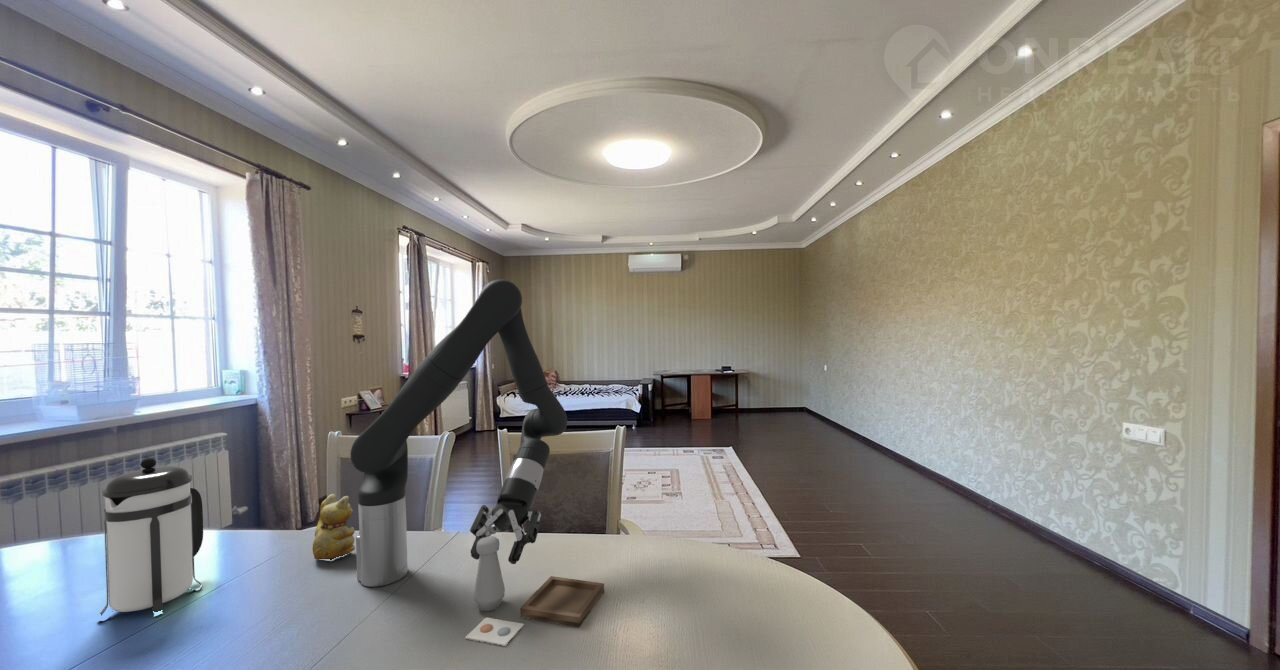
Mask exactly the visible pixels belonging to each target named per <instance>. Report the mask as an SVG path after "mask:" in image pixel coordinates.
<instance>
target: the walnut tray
mask: <svg viewBox="0 0 1280 670" xmlns="http://www.w3.org/2000/svg"><path fill="white" fill-rule="evenodd" d="M604 594H605V583H604V582H597V581H591V580H584V579H583V580H581V579H576V578H575V579H574V578H567V577H562V576H561V577H559V576H554V575H550V576H549V578H547V580H546V581H545V582H544V583H542V585H541V586H539V588H538V589H537V590H536V591H535V592H534V593H533V594H532V595H531V596H530V597H529V598H528V599H527V600H526V601H525V602H524V603H523V604H522V606H520V607H519V615H520V617H524V618H523V619H526V618H529V619H528V620H532V619H534V620H533V621H539V622H544V623H545V622H546V623H549V622H550V623H551V624H555V623H557V625H561V624H562V626H567V627H568V626H569V627H574V628H580V627H581V626H582V624H583V623H584V622H585V620H586V619H587V617H588V616H589V615H590V613H591V612H592V611H593V609H594V608H595V606H596V605H597V603H598V602H599V600H600V599H601V598H602V596H604Z"/></svg>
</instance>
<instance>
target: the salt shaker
mask: <svg viewBox="0 0 1280 670" xmlns="http://www.w3.org/2000/svg"><path fill="white" fill-rule="evenodd" d="M476 549H477V553H478V554H480V557H479V559H478V565H477V573H476V580H475V587H474V593H473V600H474V602H475V603H476V605H477V607H478V608H479V611H481V612H491V611H494V610H496V609H497V610H498V609H499V608H500V606H501V603H502V600H503V599H504V596H505V594H506V593H505V591H506V590H505V583H504V579H503V574H502V569H501V566H500V561H499V556H498V551H499V550H500V539H499V538H497V537H496V536H493V535H491V536H489V537H484V538H482V539H480V540H479V541H478V542H477V547H476Z"/></svg>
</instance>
